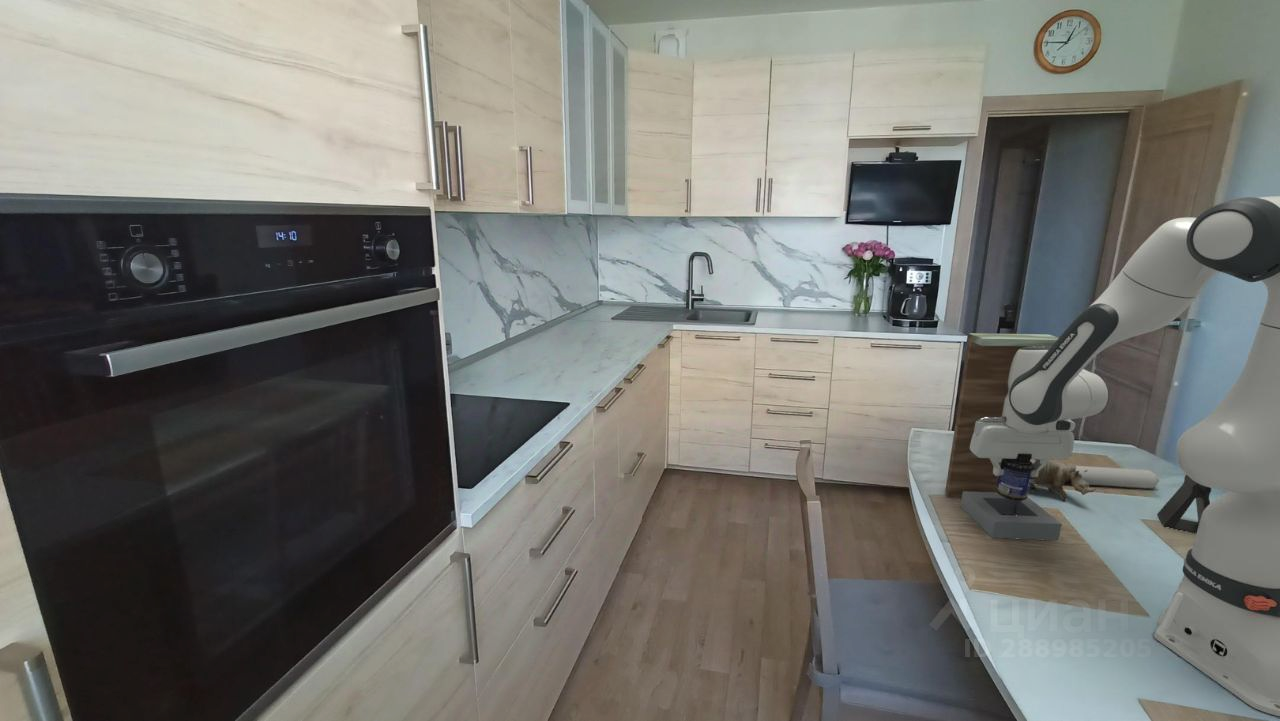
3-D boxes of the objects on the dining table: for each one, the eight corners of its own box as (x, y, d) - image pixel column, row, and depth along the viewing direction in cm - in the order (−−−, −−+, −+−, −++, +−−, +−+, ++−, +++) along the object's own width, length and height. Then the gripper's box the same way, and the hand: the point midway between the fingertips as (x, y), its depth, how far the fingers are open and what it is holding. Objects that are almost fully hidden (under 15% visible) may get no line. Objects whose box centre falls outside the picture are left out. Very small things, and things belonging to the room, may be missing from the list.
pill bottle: (1031, 503, 125) (1042, 457, 122) (1001, 500, 126) (1011, 454, 123) (1019, 489, 130) (1029, 446, 127) (990, 486, 132) (999, 443, 129)
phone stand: (1208, 525, 129) (1222, 477, 126) (1217, 538, 124) (1231, 488, 121) (1156, 515, 133) (1168, 468, 130) (1163, 526, 128) (1175, 478, 125)
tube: (1147, 468, 149) (1046, 462, 152) (1163, 470, 144) (1058, 464, 147) (1147, 488, 149) (1046, 482, 152) (1164, 491, 144) (1058, 485, 147)
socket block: (1058, 540, 122) (1061, 523, 121) (991, 538, 123) (994, 521, 122) (1020, 508, 136) (1023, 493, 135) (960, 506, 137) (962, 491, 136)
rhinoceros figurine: (1004, 467, 152) (1051, 435, 143) (1049, 507, 148) (1101, 476, 138) (997, 479, 147) (1046, 446, 137) (1043, 521, 142) (1097, 489, 133)
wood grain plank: (1033, 508, 136) (1065, 339, 126) (956, 506, 137) (982, 338, 127) (1018, 496, 142) (1048, 334, 131) (944, 494, 143) (969, 333, 132)
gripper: (984, 421, 121) (974, 480, 124) (1083, 423, 120) (1071, 483, 123) (969, 411, 127) (960, 467, 130) (1063, 413, 126) (1052, 470, 129)
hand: (1014, 475), depth 127 cm, fingers closed on pill bottle, 6 cm apart
